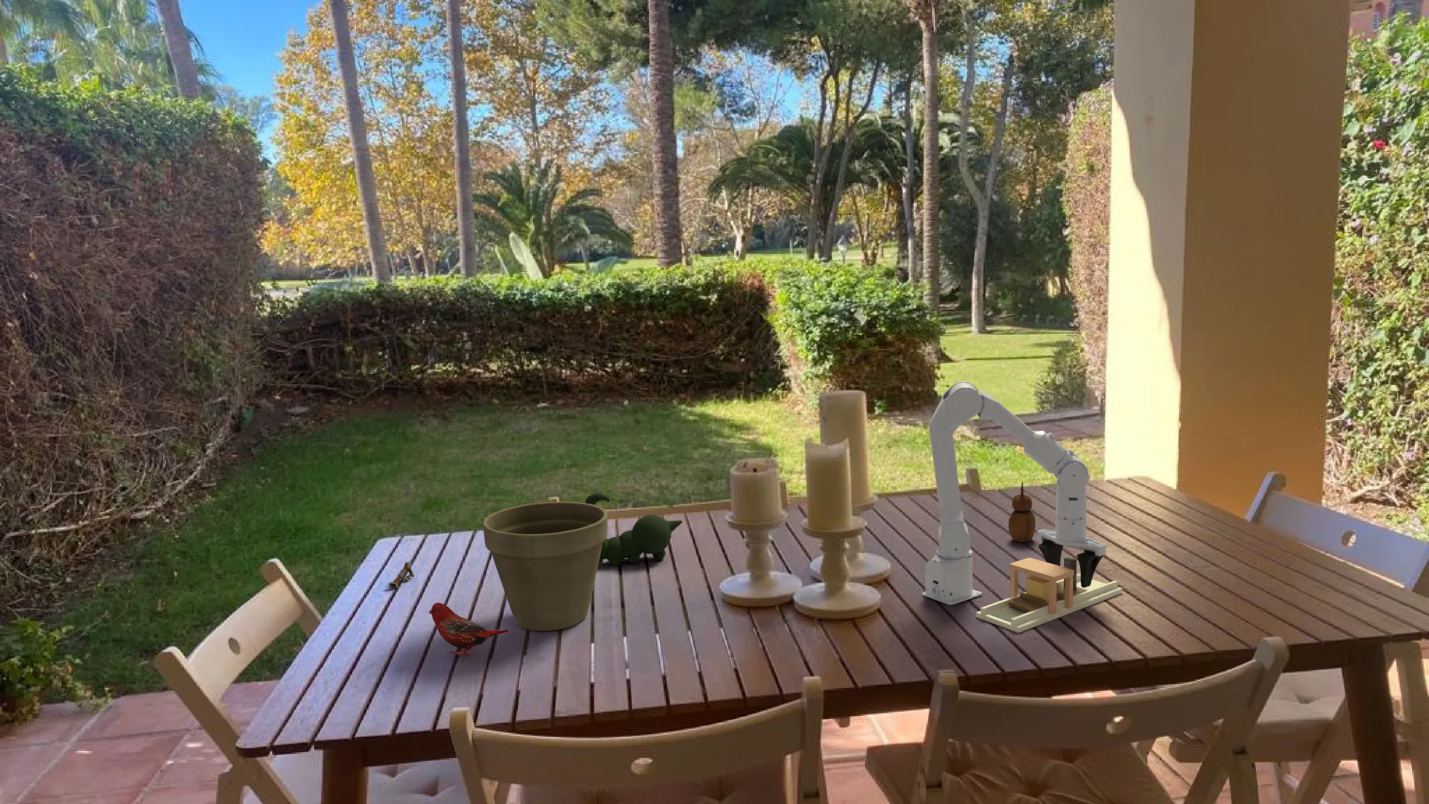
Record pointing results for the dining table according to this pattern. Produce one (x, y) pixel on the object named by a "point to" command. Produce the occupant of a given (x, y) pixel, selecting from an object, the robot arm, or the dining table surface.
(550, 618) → the plant pot
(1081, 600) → the track
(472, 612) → the dining table surface
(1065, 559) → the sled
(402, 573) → the wooden post with brackets
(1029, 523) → the wooden figurine
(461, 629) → the decorative bird figurine
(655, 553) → the toy figurine
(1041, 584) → the block
